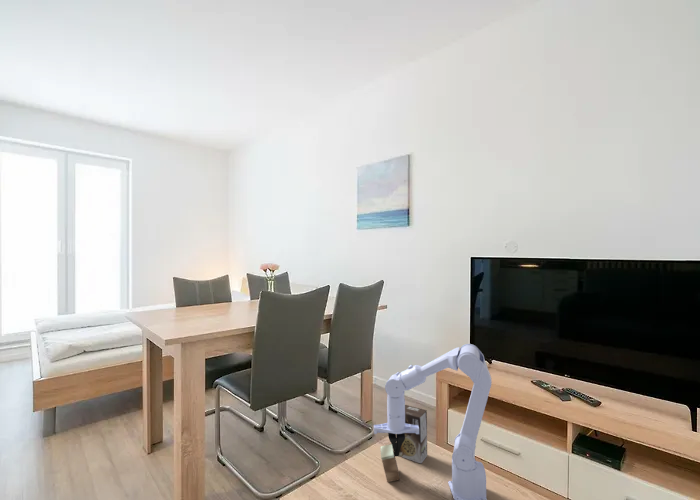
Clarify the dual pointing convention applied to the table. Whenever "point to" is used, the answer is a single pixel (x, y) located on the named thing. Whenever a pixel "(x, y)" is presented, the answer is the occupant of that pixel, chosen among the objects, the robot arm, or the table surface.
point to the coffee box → (415, 435)
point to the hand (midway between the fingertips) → (396, 454)
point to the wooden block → (389, 463)
